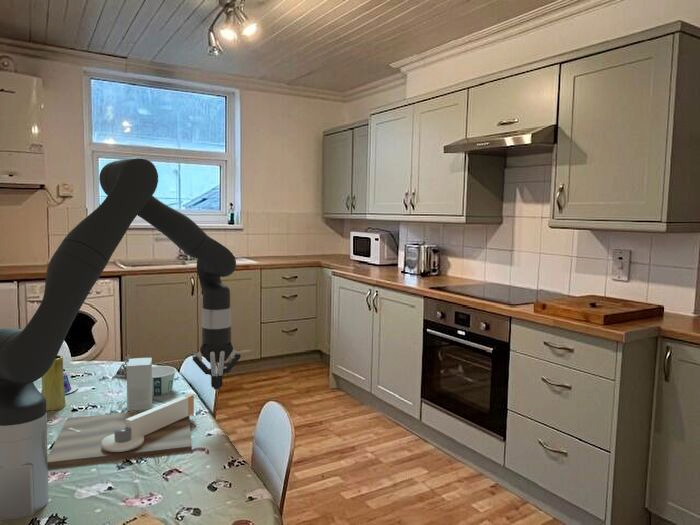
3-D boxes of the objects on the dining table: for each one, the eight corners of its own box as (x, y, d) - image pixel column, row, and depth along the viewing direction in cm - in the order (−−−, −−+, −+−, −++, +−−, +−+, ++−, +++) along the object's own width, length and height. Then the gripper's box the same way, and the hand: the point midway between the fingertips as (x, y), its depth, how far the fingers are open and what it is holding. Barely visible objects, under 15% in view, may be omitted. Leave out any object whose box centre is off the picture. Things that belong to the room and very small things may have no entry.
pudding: (62, 399, 156) (62, 382, 155) (24, 397, 157) (23, 380, 156) (86, 386, 167) (86, 370, 167) (50, 384, 169) (50, 368, 168)
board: (191, 452, 122) (191, 445, 122) (44, 469, 113) (44, 462, 112) (188, 412, 147) (188, 407, 147) (67, 423, 137) (67, 417, 137)
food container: (135, 387, 167) (135, 367, 167) (175, 384, 171) (175, 364, 171) (134, 399, 156) (134, 378, 155) (177, 395, 160) (177, 374, 160)
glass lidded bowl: (151, 372, 185) (151, 350, 184) (139, 379, 176) (139, 357, 175) (127, 371, 185) (126, 349, 185) (113, 378, 177) (113, 356, 176)
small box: (129, 402, 154) (129, 358, 153) (152, 400, 156) (152, 357, 155) (126, 411, 146) (126, 365, 145) (151, 410, 148) (150, 364, 147)
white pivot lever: (120, 455, 116) (120, 432, 116) (92, 446, 120) (92, 424, 119) (204, 416, 140) (204, 397, 139) (178, 410, 144) (178, 391, 143)
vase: (54, 412, 145) (53, 361, 144) (35, 410, 146) (34, 359, 145) (70, 404, 151) (69, 355, 150) (52, 402, 152) (50, 354, 151)
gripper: (190, 328, 134) (191, 395, 135) (243, 326, 138) (243, 390, 139) (189, 323, 141) (190, 386, 142) (240, 320, 145) (240, 382, 146)
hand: (216, 388), depth 141 cm, fingers closed
